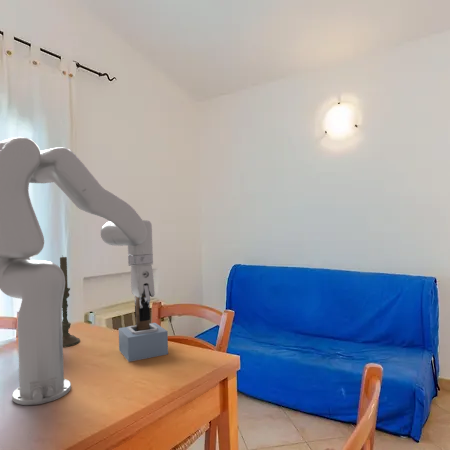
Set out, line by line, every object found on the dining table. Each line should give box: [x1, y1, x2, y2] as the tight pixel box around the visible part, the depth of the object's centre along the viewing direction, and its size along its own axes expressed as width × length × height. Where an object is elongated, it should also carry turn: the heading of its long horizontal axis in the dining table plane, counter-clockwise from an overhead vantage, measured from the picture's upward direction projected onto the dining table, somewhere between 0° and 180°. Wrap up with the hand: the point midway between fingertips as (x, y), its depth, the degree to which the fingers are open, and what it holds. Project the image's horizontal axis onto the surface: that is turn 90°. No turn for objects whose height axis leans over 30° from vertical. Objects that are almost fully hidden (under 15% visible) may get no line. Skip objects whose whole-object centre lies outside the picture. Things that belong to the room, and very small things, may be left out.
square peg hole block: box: [118, 322, 169, 363], centre depth 119 cm, size 12×12×8 cm
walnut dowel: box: [134, 295, 151, 331], centre depth 119 cm, size 4×4×14 cm
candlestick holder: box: [59, 255, 81, 348], centre depth 130 cm, size 9×9×30 cm
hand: (142, 318), depth 119 cm, fingers closed on walnut dowel, 4 cm apart
